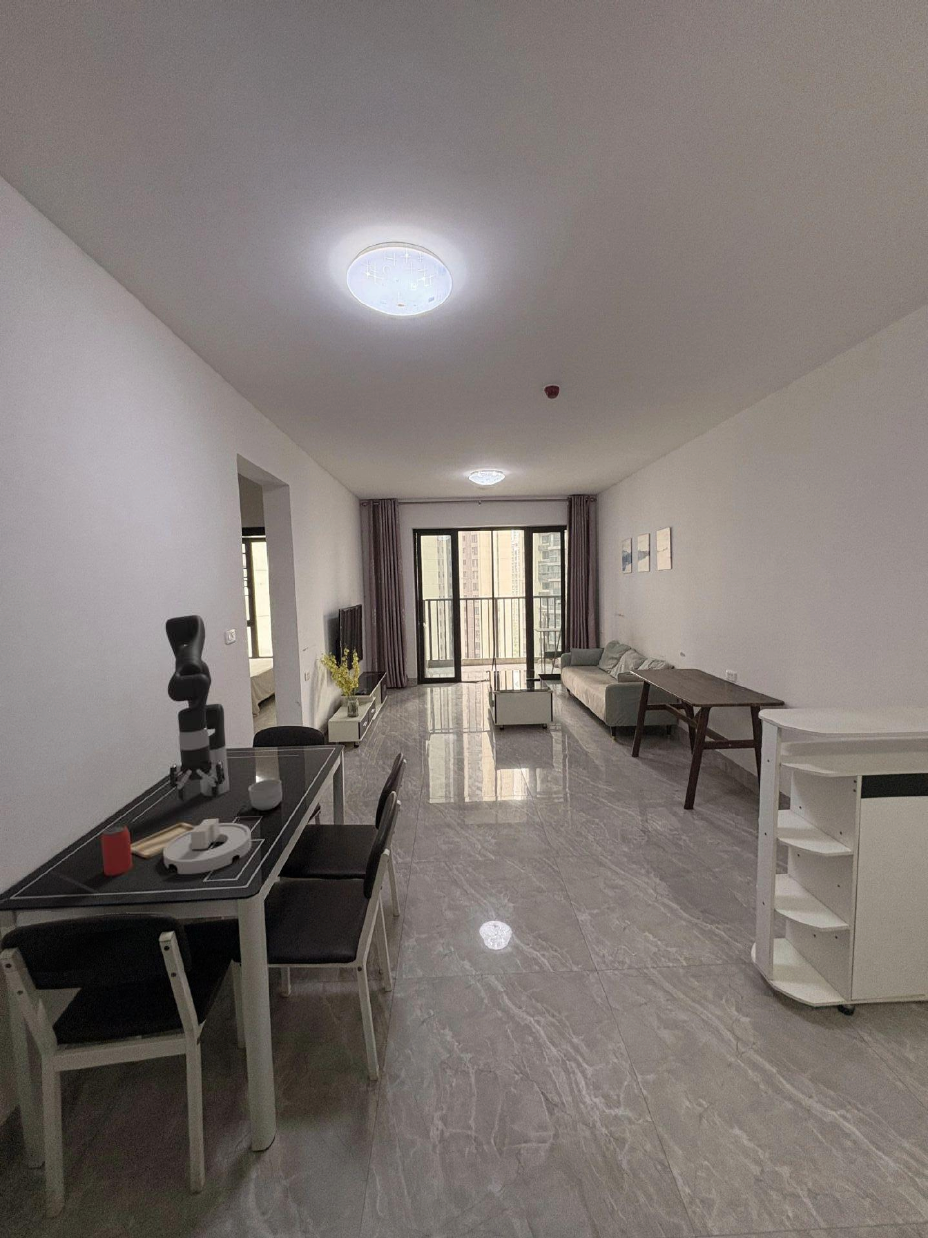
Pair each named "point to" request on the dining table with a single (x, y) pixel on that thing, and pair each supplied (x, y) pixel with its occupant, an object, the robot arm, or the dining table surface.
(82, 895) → the dining table surface
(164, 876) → the dining table surface
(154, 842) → the tray
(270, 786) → the teacup
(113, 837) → the beer can
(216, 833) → the stone block
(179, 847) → the ashtray
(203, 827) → the stone block
